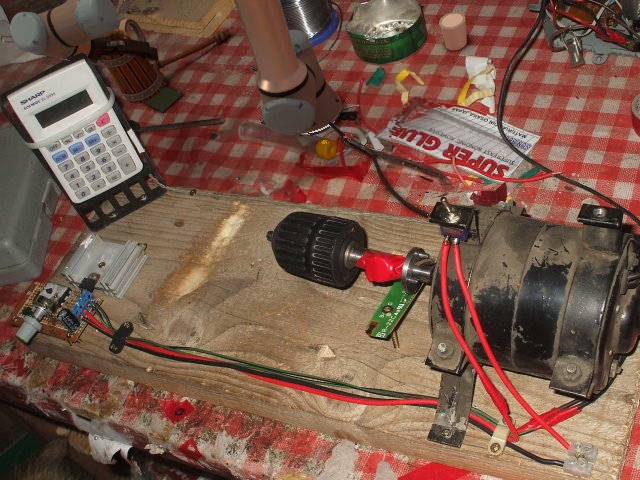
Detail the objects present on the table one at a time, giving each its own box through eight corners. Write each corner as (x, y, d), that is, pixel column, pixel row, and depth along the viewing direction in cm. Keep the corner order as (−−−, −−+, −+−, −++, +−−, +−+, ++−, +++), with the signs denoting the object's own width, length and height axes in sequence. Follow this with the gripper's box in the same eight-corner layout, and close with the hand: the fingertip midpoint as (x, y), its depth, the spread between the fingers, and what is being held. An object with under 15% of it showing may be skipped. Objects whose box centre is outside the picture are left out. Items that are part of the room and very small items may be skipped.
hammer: (133, 86, 187) (119, 55, 180) (229, 47, 199) (220, 16, 191) (142, 95, 184) (128, 64, 176) (239, 54, 195) (230, 23, 188)
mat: (183, 95, 183) (182, 94, 182) (163, 113, 180) (162, 111, 180) (160, 84, 188) (159, 82, 188) (140, 100, 186) (139, 99, 186)
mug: (155, 104, 155) (120, 53, 143) (119, 105, 158) (82, 55, 146) (177, 62, 163) (146, 10, 151) (143, 64, 166) (110, 14, 154)
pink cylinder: (440, 41, 168) (435, 18, 163) (463, 31, 168) (459, 8, 162) (448, 55, 164) (444, 32, 159) (472, 45, 164) (469, 21, 158)
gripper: (116, 16, 133) (175, 34, 155) (32, 33, 138) (99, 48, 159) (124, 54, 135) (180, 66, 156) (40, 68, 140) (106, 78, 161)
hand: (139, 57), depth 158 cm, fingers closed on mug, 9 cm apart
